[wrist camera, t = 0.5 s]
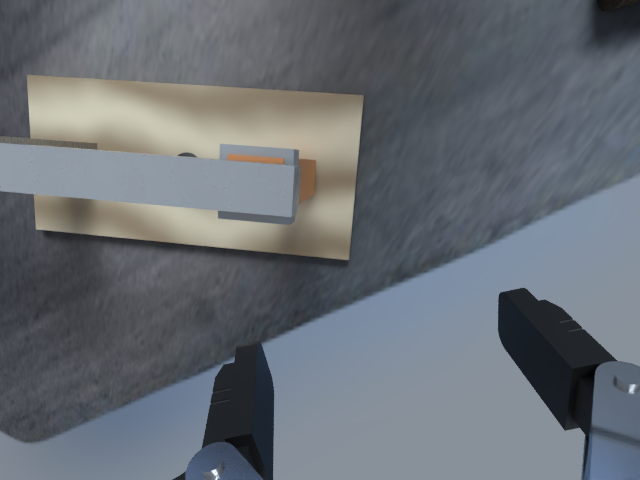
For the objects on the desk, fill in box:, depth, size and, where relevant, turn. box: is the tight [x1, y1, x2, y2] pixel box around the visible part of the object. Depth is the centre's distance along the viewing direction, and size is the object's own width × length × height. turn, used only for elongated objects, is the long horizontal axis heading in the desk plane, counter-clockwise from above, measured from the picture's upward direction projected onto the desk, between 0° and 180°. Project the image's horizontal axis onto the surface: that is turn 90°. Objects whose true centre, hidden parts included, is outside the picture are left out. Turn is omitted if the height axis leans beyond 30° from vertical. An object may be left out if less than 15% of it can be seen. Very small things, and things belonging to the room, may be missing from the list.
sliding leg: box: [218, 144, 316, 225], centre depth 29 cm, size 4×4×14 cm
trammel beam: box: [0, 136, 301, 217], centre depth 29 cm, size 3×27×17 cm, turn 86°
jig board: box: [27, 75, 364, 260], centre depth 37 cm, size 14×30×1 cm, turn 86°
